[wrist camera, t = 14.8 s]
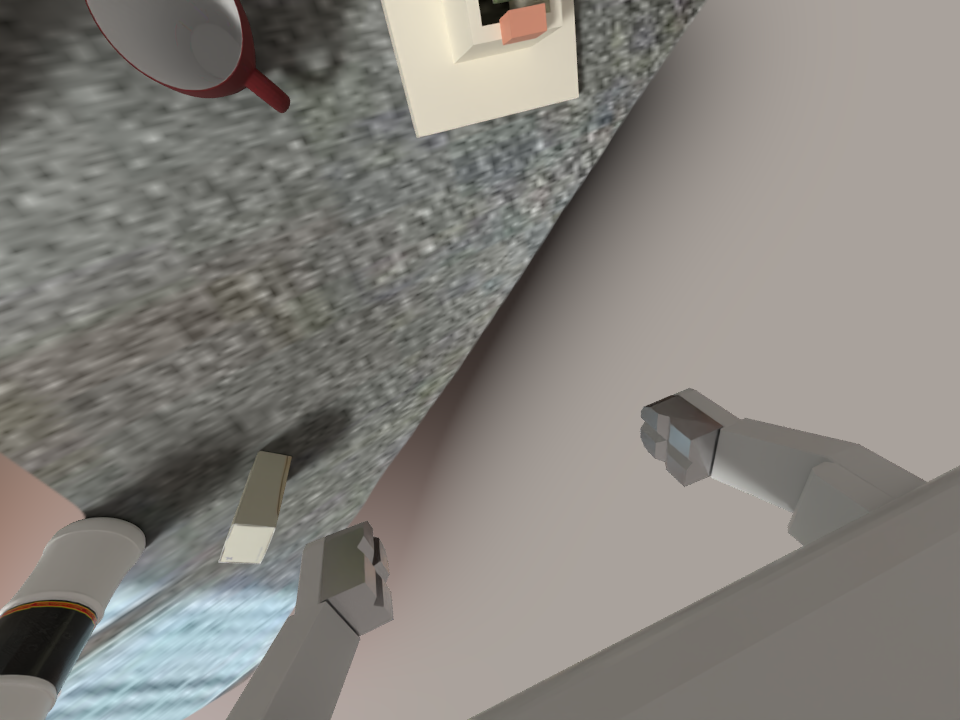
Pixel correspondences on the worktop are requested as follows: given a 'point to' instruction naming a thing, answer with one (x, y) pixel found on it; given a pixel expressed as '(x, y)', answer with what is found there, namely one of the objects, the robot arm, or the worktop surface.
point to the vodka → (60, 611)
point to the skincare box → (257, 510)
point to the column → (500, 1)
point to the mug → (188, 45)
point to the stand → (481, 59)
